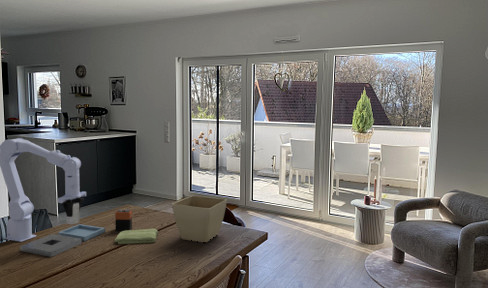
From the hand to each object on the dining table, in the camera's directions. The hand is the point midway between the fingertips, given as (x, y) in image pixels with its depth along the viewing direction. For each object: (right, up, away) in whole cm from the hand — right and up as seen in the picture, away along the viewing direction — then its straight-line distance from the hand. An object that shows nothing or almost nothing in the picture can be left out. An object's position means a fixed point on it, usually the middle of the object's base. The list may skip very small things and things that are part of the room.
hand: (72, 215), depth 163 cm
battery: (+18, -10, +14) cm, 25 cm away
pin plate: (-4, -11, -10) cm, 16 cm away
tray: (+1, -10, +6) cm, 12 cm away
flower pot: (+56, -12, +7) cm, 57 cm away
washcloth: (+28, -12, +2) cm, 30 cm away
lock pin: (0, -3, 0) cm, 3 cm away
